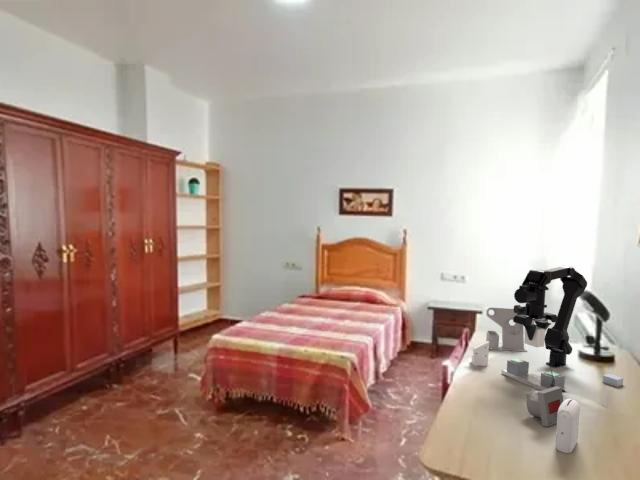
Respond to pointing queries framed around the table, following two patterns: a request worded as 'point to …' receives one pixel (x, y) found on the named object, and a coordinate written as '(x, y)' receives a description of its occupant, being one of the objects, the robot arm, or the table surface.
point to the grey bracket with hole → (506, 331)
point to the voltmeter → (545, 404)
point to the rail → (520, 372)
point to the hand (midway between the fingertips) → (534, 339)
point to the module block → (536, 338)
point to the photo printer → (567, 426)
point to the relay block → (613, 380)
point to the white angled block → (481, 354)
